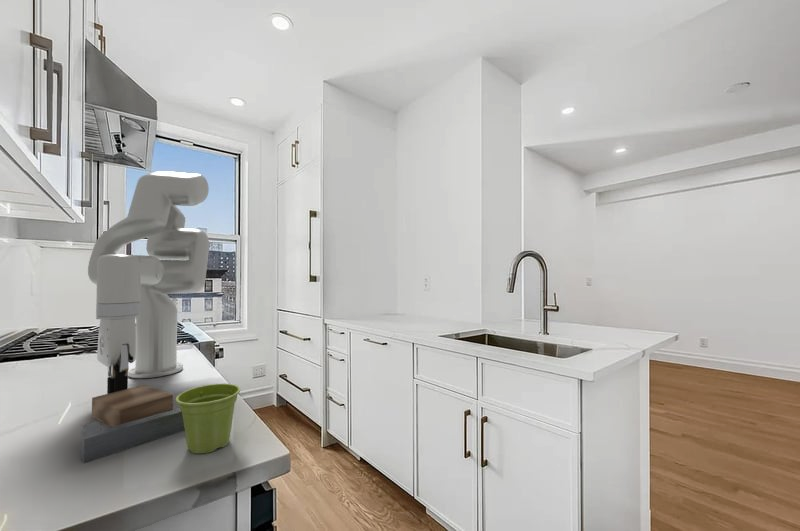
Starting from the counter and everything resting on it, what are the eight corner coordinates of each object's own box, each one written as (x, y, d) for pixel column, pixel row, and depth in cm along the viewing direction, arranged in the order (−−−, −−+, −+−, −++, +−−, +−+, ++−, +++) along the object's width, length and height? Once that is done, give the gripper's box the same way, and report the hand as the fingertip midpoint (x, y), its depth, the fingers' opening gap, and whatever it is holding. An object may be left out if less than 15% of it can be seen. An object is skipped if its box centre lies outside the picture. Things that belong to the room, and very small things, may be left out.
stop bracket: (73, 445, 57) (73, 424, 57) (202, 408, 73) (202, 391, 73) (84, 462, 52) (84, 439, 52) (220, 418, 68) (220, 400, 68)
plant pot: (163, 463, 52) (164, 405, 52) (188, 434, 61) (189, 384, 61) (231, 457, 54) (231, 401, 54) (245, 429, 63) (246, 381, 63)
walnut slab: (91, 418, 69) (92, 397, 69) (143, 402, 77) (143, 384, 77) (119, 432, 63) (120, 410, 63) (173, 414, 71) (173, 394, 71)
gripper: (88, 309, 78) (87, 392, 78) (105, 315, 69) (104, 408, 69) (129, 307, 84) (128, 383, 84) (150, 311, 75) (149, 397, 74)
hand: (117, 394), depth 76 cm, fingers closed
